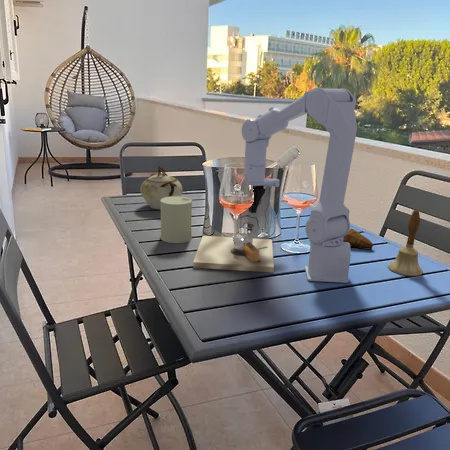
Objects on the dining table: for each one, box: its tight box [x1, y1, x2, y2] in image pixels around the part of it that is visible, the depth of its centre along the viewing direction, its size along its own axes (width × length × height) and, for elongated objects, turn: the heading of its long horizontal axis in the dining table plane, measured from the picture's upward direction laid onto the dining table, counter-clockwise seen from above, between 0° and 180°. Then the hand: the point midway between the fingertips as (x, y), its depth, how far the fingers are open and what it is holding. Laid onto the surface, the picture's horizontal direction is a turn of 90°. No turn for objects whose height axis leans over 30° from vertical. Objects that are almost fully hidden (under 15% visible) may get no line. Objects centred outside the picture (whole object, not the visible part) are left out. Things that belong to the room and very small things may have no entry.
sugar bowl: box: [140, 165, 183, 211], centre depth 162 cm, size 20×15×15 cm
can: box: [160, 195, 193, 244], centre depth 131 cm, size 9×9×12 cm
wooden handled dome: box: [233, 235, 259, 262], centre depth 117 cm, size 11×5×3 cm, turn 19°
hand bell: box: [388, 209, 423, 277], centre depth 114 cm, size 8×8×16 cm
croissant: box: [342, 228, 374, 250], centre depth 133 cm, size 14×7×5 cm, turn 49°
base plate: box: [192, 235, 275, 273], centre depth 122 cm, size 20×20×2 cm
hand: (252, 212), depth 128 cm, fingers closed
